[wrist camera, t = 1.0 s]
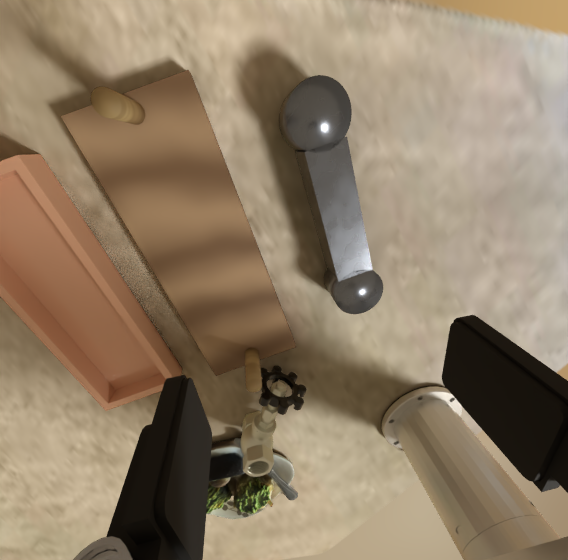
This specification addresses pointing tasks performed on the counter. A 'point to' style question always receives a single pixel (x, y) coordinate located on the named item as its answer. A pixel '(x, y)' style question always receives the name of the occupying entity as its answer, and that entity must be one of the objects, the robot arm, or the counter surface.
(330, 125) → the grey long knobbed bar
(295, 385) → the valve
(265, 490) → the salad plate
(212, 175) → the board
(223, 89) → the counter surface
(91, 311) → the slot holder
